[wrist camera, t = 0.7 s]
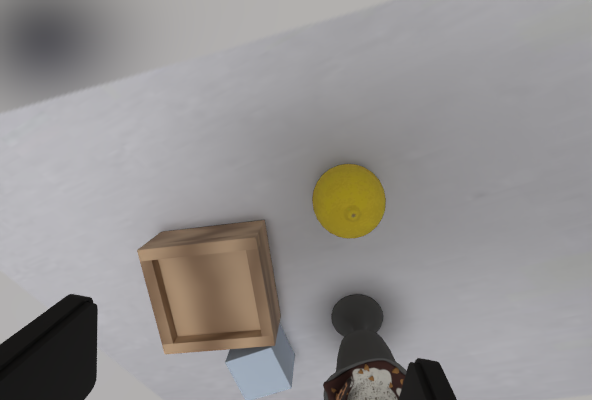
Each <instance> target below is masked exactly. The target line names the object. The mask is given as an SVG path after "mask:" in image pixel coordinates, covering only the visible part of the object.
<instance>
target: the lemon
mask: <svg viewBox="0 0 592 400" xmlns="http://www.w3.org/2000/svg"><path fill="white" fill-rule="evenodd" d="M312 201H313V209H314V212H315V214H316V217H317V219H318V221H319V222H320V223H321V225H322V226H323V227H324V228H325V229H326V230H328V231H329V232H330V233H332V234H334V235H336V236H338V237H342V238H358V237H361V236H364V235H366V234H368V233H370V232H371V231H372V230H373V229H374V228H375V227H377V225H378V224H379V222H380V221H381V219H382V217H383V214H384V211H385V202H386V198H385V193H384V189H383V187H382V185H381V183H380V181H379V179H378V178H377V177H376V176H375V175H374V174H373V173H372V172H371V171H369V170H367V169H366V168H364V167H361V166H358V165H355V164H343V165H338V166H336V167H333V168H331V169H329V170H328V171H327V172H325V173H324V174H323V175H322V176H321V178H320V179H319V180H318V182H317V184H316V186H315V189H314V192H313V199H312Z"/></svg>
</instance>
